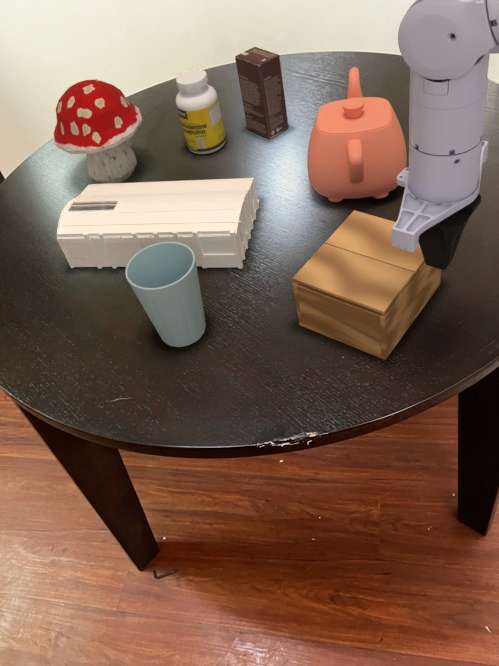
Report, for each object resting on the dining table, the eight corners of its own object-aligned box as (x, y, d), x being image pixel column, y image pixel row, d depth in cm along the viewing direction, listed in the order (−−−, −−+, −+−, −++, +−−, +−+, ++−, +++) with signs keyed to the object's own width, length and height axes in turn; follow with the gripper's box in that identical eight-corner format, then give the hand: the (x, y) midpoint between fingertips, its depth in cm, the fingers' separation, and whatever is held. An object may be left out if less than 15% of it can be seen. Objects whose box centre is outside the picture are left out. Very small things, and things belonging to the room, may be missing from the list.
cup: (139, 331, 78) (111, 267, 70) (190, 298, 80) (168, 231, 73) (174, 365, 73) (149, 299, 66) (227, 328, 76) (208, 260, 68)
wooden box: (357, 257, 80) (354, 209, 75) (440, 284, 75) (443, 234, 69) (299, 325, 74) (291, 278, 69) (385, 360, 68) (384, 312, 63)
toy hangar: (265, 199, 92) (257, 156, 87) (246, 269, 82) (236, 225, 77) (103, 204, 98) (87, 164, 93) (68, 270, 88) (48, 229, 83)
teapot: (402, 136, 97) (402, 56, 88) (411, 219, 83) (412, 135, 75) (312, 145, 99) (304, 68, 91) (307, 227, 86) (296, 146, 77)
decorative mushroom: (65, 205, 100) (24, 116, 89) (81, 156, 109) (46, 70, 98) (153, 192, 98) (122, 99, 87) (161, 143, 107) (134, 54, 97)
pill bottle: (180, 147, 105) (161, 79, 97) (211, 130, 108) (195, 61, 99) (203, 160, 102) (186, 91, 93) (235, 142, 104) (220, 72, 95)
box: (290, 127, 104) (280, 53, 95) (269, 140, 102) (257, 66, 94) (266, 116, 108) (254, 44, 99) (245, 128, 106) (232, 56, 97)
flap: (354, 212, 75) (354, 209, 75) (442, 237, 70) (442, 235, 69) (325, 245, 72) (324, 242, 72) (414, 274, 67) (415, 271, 66)
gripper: (439, 86, 58) (433, 210, 68) (356, 173, 51) (363, 297, 61) (518, 99, 54) (500, 227, 64) (440, 195, 47) (433, 322, 57)
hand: (438, 263), depth 62 cm, fingers closed
